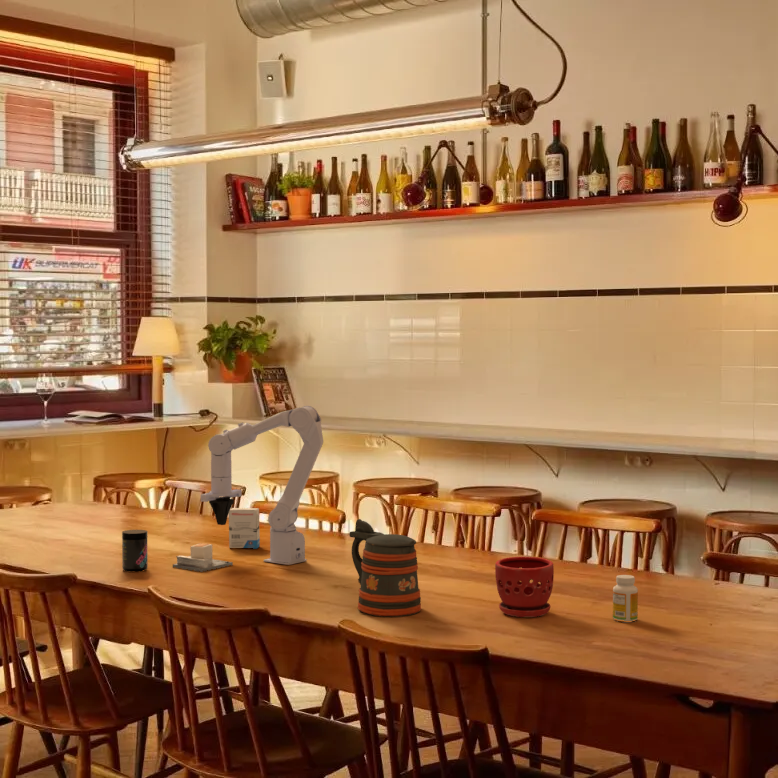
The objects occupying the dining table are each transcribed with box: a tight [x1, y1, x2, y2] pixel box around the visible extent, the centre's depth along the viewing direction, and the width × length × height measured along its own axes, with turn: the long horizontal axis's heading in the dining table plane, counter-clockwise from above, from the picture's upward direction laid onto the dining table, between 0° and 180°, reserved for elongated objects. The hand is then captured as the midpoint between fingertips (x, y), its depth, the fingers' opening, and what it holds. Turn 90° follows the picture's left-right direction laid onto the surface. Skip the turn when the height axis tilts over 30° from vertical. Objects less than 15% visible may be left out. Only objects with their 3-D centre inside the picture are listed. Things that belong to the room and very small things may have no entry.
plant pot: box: [494, 556, 555, 618], centre depth 266 cm, size 13×13×12 cm
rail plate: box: [172, 555, 234, 573], centre depth 322 cm, size 11×12×3 cm
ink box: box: [228, 507, 261, 550], centre depth 352 cm, size 9×5×12 cm, turn 84°
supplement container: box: [121, 529, 149, 572], centre depth 317 cm, size 7×7×10 cm
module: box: [190, 542, 213, 559], centre depth 322 cm, size 4×5×5 cm
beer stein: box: [348, 518, 422, 618], centre depth 271 cm, size 19×15×20 cm
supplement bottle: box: [612, 574, 639, 621], centre depth 261 cm, size 5×5×10 cm
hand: (221, 524), depth 332 cm, fingers closed
